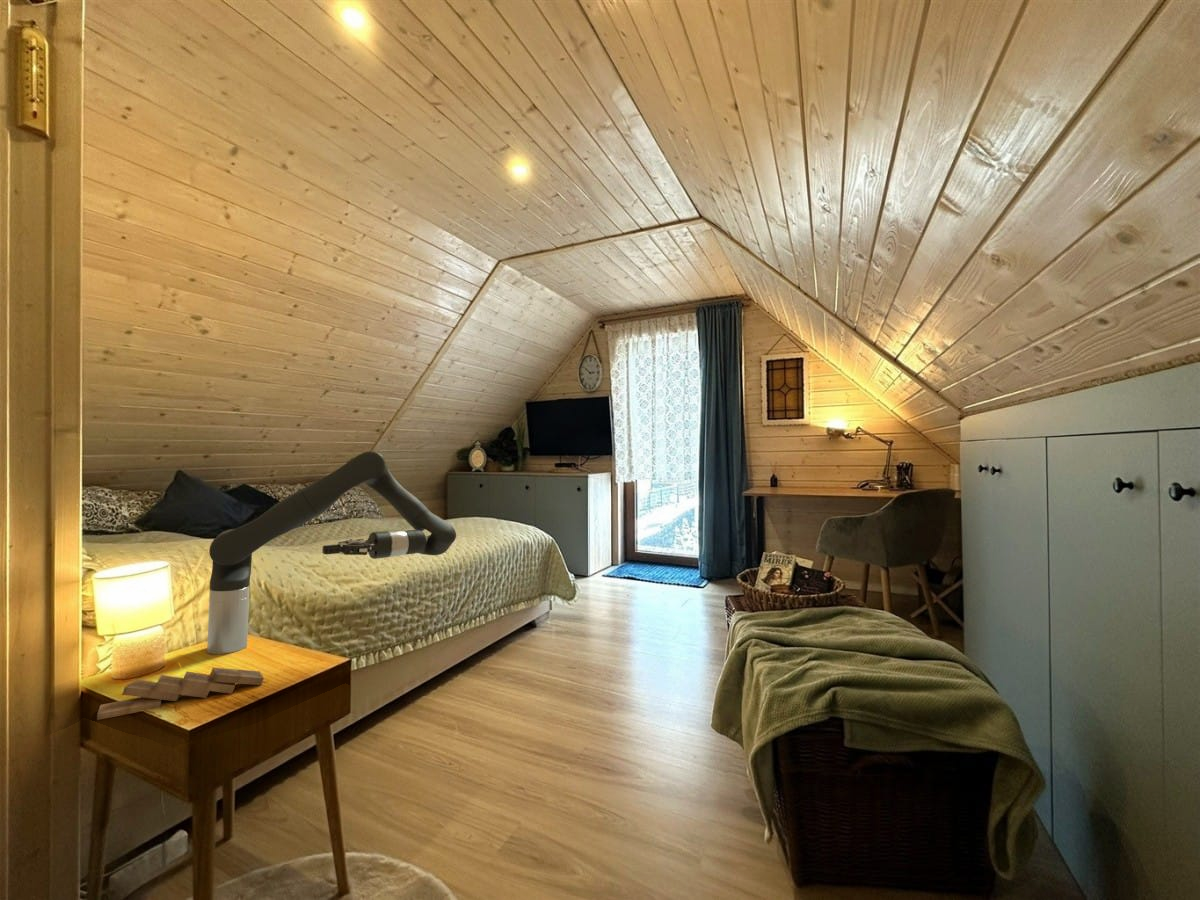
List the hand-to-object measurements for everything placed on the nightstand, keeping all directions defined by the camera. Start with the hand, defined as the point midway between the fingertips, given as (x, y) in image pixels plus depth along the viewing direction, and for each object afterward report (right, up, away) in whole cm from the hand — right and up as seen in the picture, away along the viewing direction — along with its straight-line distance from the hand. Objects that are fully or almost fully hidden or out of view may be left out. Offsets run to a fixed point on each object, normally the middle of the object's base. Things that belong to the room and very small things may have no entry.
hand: (323, 550), depth 140 cm
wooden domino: (-20, -28, -22) cm, 41 cm away
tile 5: (-23, -29, -24) cm, 44 cm away
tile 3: (-16, -28, -19) cm, 38 cm away
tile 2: (-12, -29, -17) cm, 35 cm away
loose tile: (-9, -29, -12) cm, 33 cm away
